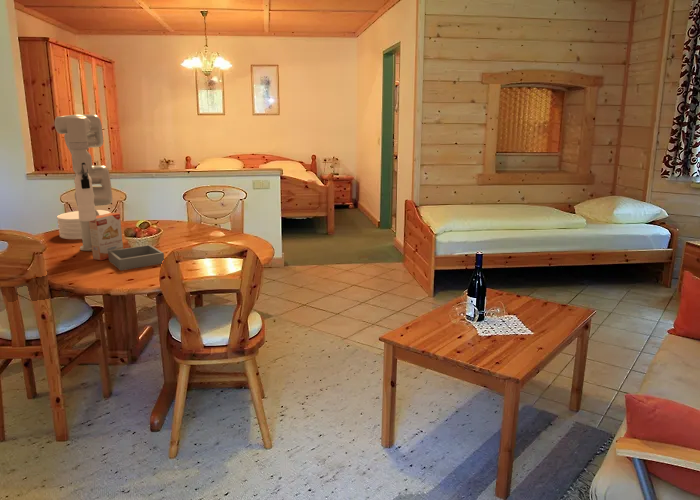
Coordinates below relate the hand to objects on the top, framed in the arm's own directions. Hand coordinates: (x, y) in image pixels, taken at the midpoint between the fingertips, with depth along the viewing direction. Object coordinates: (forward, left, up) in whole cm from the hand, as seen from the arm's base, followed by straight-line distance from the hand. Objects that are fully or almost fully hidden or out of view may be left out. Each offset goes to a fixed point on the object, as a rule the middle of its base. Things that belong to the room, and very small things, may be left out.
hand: (83, 187), depth 251 cm
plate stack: (-80, +14, -38) cm, 90 cm away
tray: (0, +19, -37) cm, 42 cm away
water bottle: (0, 0, -15) cm, 15 cm away
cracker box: (-18, +11, -38) cm, 43 cm away
